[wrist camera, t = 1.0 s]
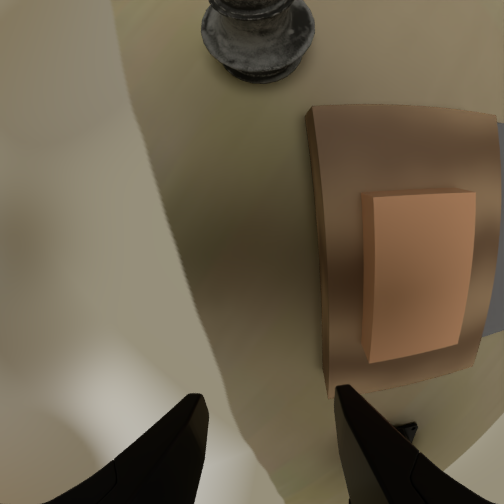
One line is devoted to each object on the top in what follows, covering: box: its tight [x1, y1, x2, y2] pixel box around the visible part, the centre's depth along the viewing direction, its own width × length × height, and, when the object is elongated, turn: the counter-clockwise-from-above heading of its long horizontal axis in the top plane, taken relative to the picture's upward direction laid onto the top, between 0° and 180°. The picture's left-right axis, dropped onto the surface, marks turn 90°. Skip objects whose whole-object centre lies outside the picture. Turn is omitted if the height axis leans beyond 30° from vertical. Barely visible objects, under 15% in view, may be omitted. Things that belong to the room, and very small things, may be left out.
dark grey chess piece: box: [201, 0, 315, 84], centre depth 10 cm, size 6×6×12 cm
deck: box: [305, 104, 501, 399], centre depth 17 cm, size 18×12×4 cm, turn 7°
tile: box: [361, 188, 476, 363], centre depth 14 cm, size 9×6×2 cm, turn 8°
